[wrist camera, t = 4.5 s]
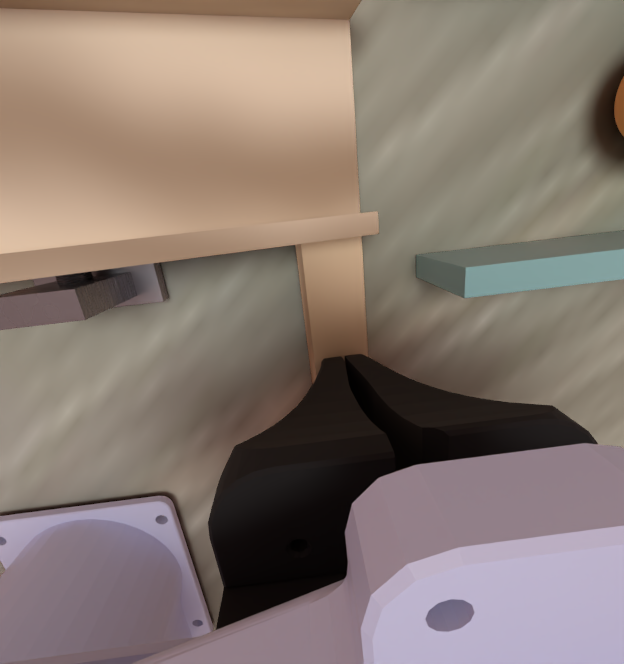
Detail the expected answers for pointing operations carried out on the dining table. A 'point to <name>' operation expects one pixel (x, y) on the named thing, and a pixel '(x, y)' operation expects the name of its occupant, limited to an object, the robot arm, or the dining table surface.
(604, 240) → the teal u-shaped frame
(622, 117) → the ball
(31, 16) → the lever
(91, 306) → the fulcrum
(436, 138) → the dining table surface
